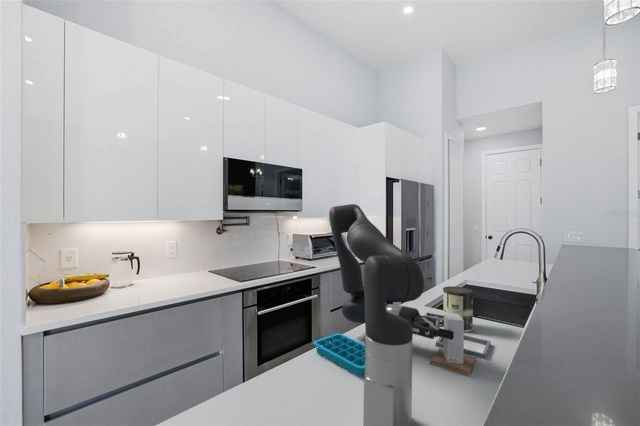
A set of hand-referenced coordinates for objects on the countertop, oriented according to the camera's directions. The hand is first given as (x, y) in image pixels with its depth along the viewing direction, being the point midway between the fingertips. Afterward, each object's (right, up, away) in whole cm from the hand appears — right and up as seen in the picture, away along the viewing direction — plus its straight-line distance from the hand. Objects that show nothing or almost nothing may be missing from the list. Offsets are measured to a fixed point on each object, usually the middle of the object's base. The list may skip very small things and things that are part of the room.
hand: (456, 330), depth 83 cm
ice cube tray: (-30, -9, +2) cm, 32 cm away
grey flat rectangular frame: (+7, -9, +12) cm, 17 cm away
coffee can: (+13, -10, +28) cm, 32 cm away
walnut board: (-1, -9, 0) cm, 9 cm away
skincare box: (-1, -8, +1) cm, 8 cm away
